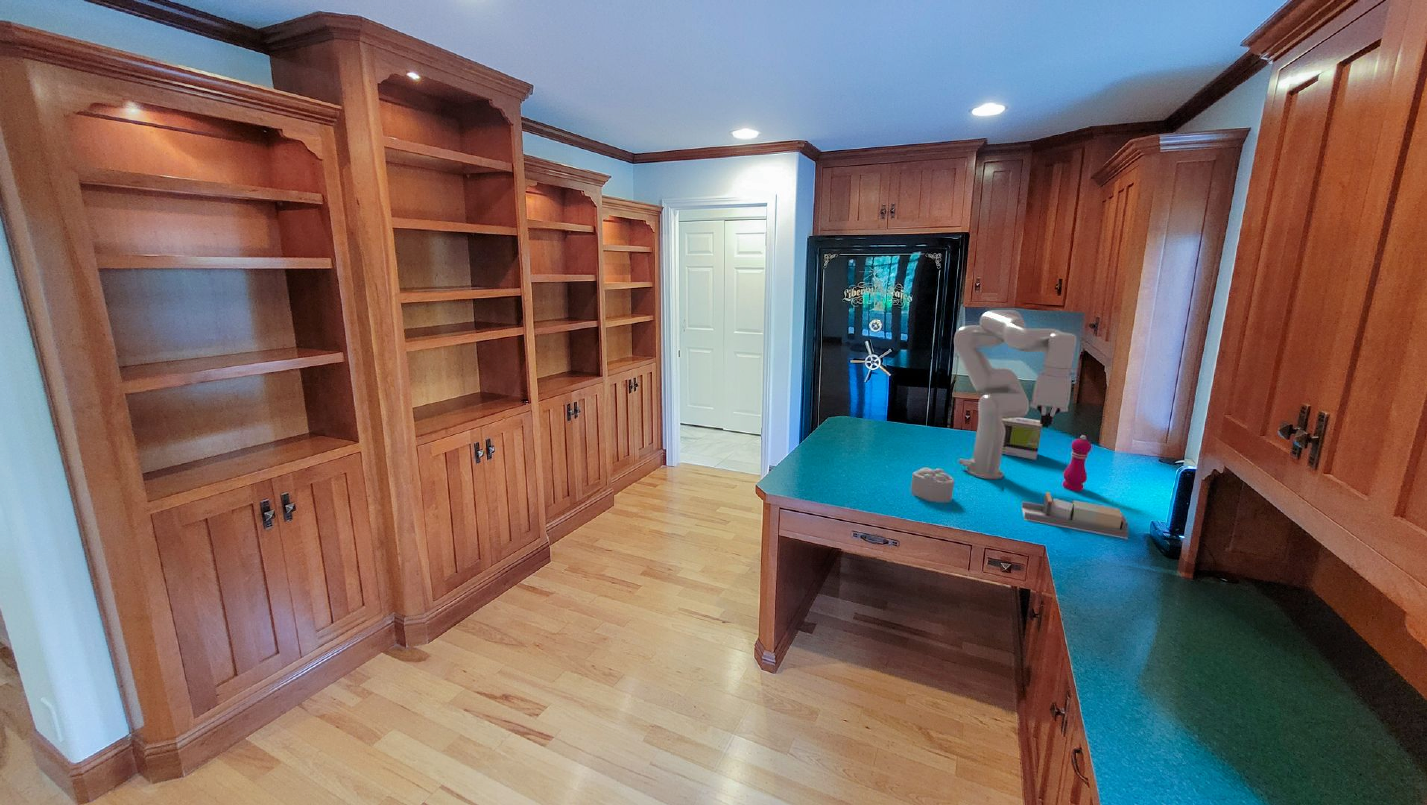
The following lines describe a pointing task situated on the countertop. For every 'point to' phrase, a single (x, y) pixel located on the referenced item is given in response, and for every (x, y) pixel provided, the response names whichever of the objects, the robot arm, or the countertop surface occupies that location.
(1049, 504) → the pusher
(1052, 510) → the small box
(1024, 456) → the tea box
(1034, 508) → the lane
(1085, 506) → the sage box
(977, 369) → the robot arm
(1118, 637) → the countertop surface
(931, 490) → the lumpy-topped squat cylinder
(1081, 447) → the pepper mill
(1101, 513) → the kraft box
